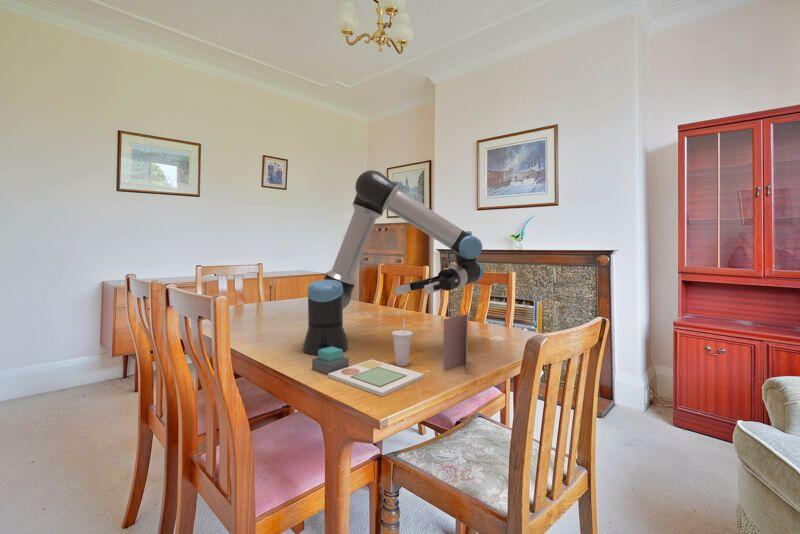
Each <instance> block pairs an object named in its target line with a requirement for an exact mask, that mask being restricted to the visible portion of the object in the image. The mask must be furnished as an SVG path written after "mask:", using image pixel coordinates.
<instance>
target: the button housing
mask: <svg viewBox="0 0 800 534" xmlns="http://www.w3.org/2000/svg"><path fill="white" fill-rule="evenodd" d="M311 362H312V363H311V365H312V367H311V368H312V370H313V369H314V371H316V370H317V372H319V371H320V372H319V373H322V372H323V373H322V374H325V373H326V374H325V375H328V374H329V373H332V372H335V371H338V370H341V369H344V368H347V367H350V366H349V365H350V364H349V362H350V361H349V357H346V356H343V359H341V360H337V361H334V362H331V363H327V362H324V361H321V360H318V356H317V357H314V358H312V360H311Z"/></svg>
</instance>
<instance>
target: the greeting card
mask: <svg viewBox="0 0 800 534" xmlns="http://www.w3.org/2000/svg"><path fill="white" fill-rule="evenodd" d="M468 325H469V314H468V313H467V314H463V315H457V316H453V317H447V318H444V319H443V350H442V351H443V355H442V358H443V359H442V360H443V361H442V363H443V365H442V366H443V368H442V369H443V371H446V370H447V369H451V368H454V367H456V366H460V365H462V364H465V369H467V366H468V337H469V336H468V333H469V331H468V329H469V327H468Z"/></svg>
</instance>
